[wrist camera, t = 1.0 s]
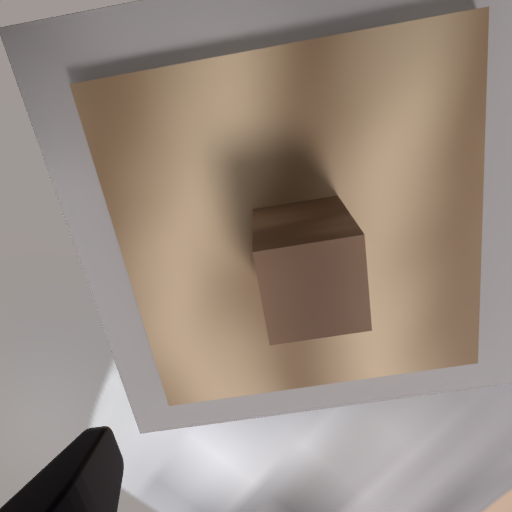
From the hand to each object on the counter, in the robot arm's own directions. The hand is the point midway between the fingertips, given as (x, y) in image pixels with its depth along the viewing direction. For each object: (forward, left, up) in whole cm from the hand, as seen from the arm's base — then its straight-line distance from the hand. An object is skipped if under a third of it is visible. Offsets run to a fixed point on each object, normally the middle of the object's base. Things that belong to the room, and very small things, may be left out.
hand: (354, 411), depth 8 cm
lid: (0, 0, -10) cm, 10 cm away
